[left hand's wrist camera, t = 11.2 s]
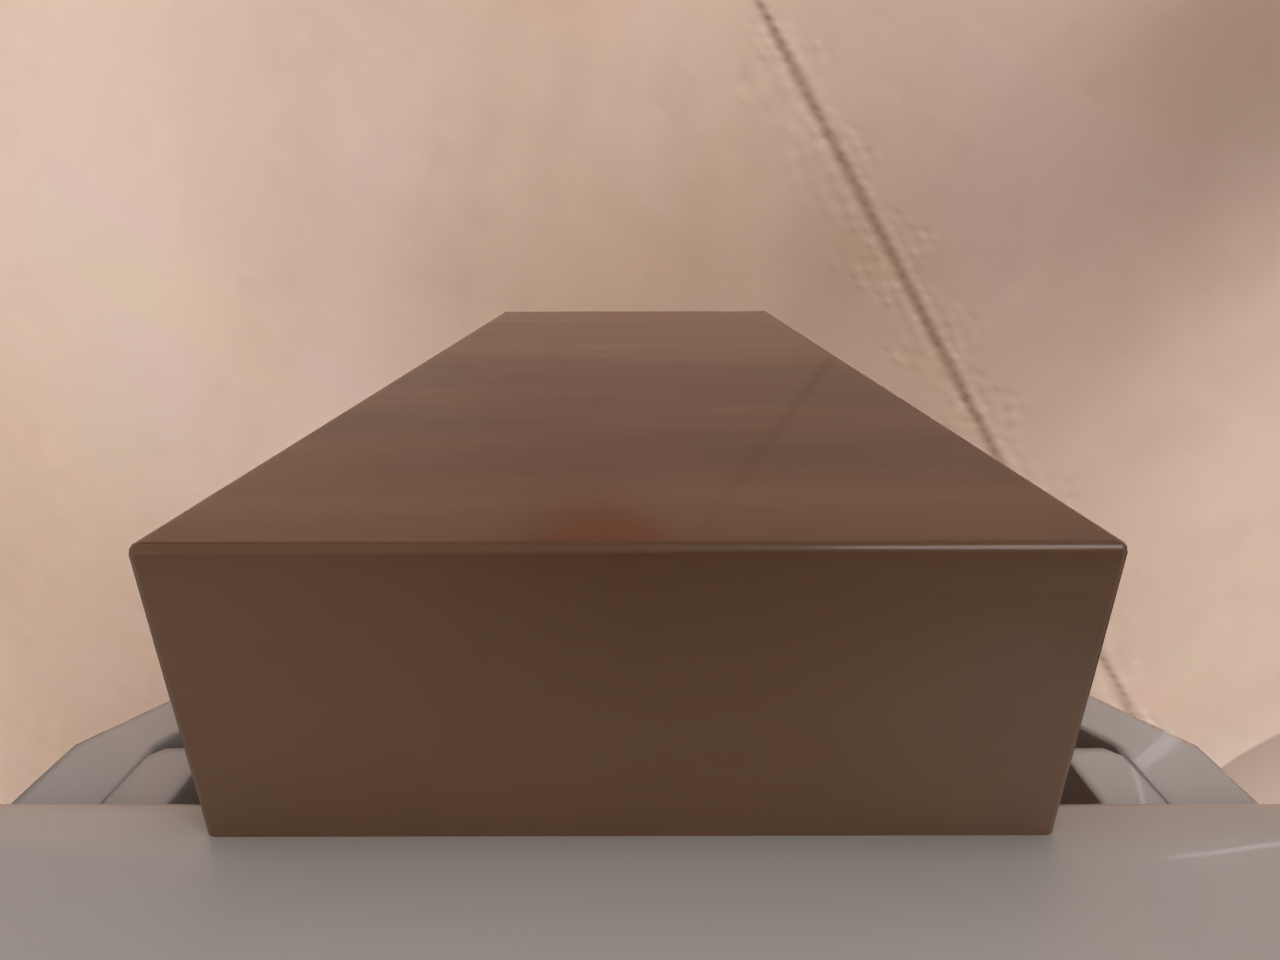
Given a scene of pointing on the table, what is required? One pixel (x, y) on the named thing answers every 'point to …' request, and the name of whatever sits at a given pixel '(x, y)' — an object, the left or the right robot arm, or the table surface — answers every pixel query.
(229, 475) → the table surface
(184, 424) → the table surface
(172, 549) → the box
